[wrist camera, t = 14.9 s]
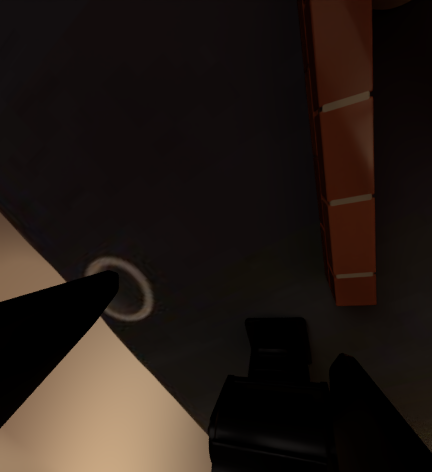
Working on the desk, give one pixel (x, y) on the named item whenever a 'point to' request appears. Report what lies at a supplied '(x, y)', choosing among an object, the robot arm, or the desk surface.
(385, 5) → the candle
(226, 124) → the desk surface
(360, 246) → the brick wall
